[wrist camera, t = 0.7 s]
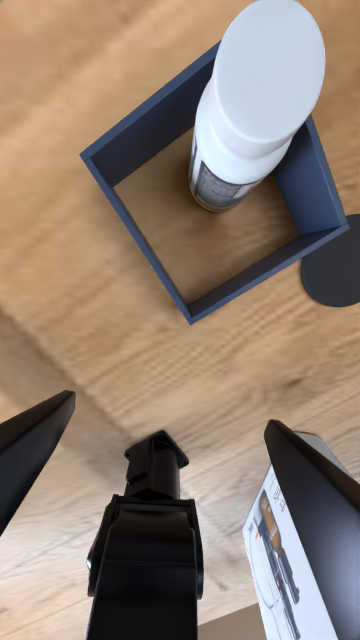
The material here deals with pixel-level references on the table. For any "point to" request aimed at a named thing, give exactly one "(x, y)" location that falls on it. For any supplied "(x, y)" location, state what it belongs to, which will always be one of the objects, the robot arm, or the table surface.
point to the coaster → (335, 268)
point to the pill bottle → (254, 100)
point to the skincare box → (285, 564)
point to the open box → (291, 172)
